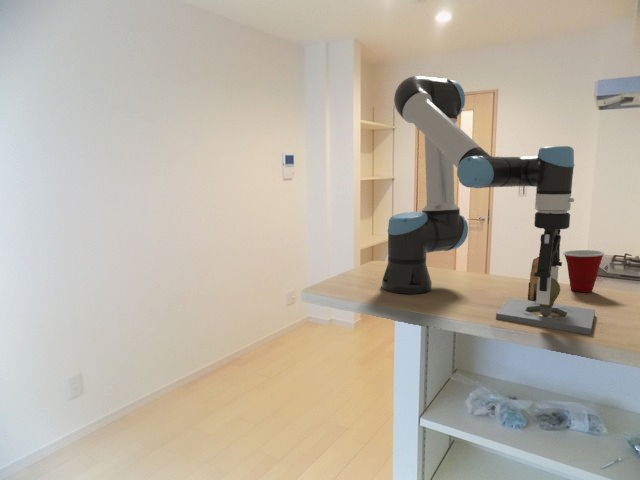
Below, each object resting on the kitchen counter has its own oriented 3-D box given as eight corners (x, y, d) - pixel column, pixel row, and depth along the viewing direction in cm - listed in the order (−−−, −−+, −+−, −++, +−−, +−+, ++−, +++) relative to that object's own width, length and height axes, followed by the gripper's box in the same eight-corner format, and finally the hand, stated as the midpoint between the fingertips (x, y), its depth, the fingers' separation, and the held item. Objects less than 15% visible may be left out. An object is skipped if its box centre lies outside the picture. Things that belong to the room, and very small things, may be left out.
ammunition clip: (534, 301, 122) (537, 259, 121) (527, 300, 124) (529, 258, 122) (544, 293, 130) (547, 253, 129) (538, 292, 132) (540, 253, 130)
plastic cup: (565, 283, 141) (567, 247, 139) (604, 289, 134) (607, 250, 132) (556, 290, 133) (559, 252, 131) (597, 296, 126) (601, 255, 124)
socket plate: (495, 319, 108) (496, 313, 108) (509, 303, 121) (510, 297, 121) (590, 334, 97) (590, 328, 96) (594, 315, 109) (595, 309, 109)
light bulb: (551, 312, 111) (554, 274, 110) (562, 319, 106) (565, 280, 104) (528, 312, 111) (531, 274, 110) (538, 319, 106) (542, 279, 104)
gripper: (564, 216, 93) (557, 312, 96) (575, 208, 113) (569, 287, 116) (525, 215, 97) (520, 307, 100) (543, 207, 117) (538, 284, 120)
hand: (546, 297), depth 108 cm, fingers open, 13 cm apart
